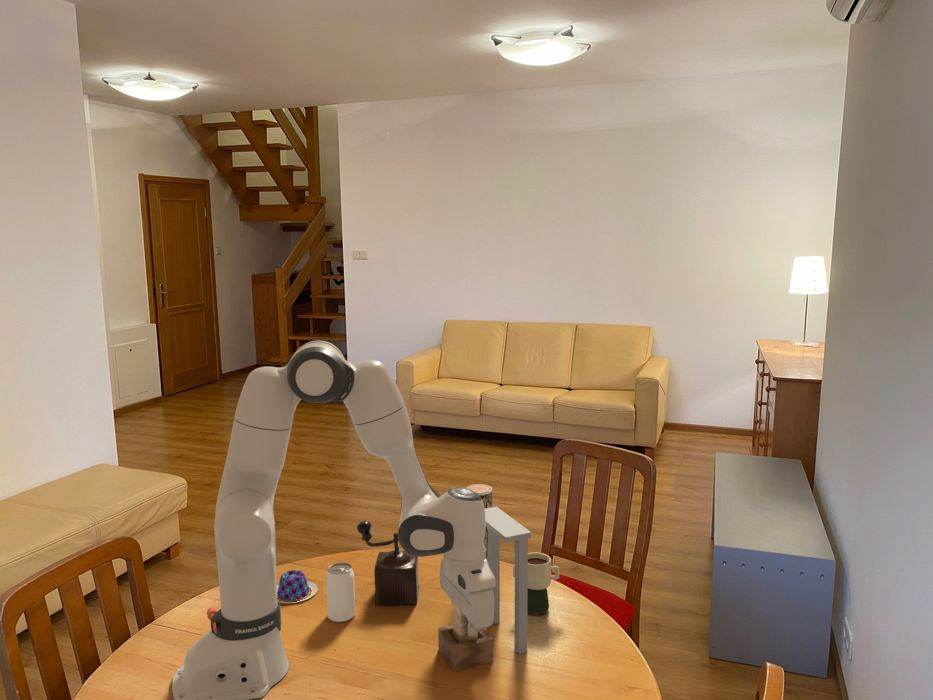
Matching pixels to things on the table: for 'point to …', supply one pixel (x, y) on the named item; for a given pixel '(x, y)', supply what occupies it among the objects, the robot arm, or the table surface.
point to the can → (340, 592)
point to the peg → (461, 626)
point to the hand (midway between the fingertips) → (464, 626)
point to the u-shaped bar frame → (509, 532)
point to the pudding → (294, 586)
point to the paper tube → (486, 496)
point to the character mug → (539, 581)
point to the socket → (465, 649)
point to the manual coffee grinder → (393, 572)
